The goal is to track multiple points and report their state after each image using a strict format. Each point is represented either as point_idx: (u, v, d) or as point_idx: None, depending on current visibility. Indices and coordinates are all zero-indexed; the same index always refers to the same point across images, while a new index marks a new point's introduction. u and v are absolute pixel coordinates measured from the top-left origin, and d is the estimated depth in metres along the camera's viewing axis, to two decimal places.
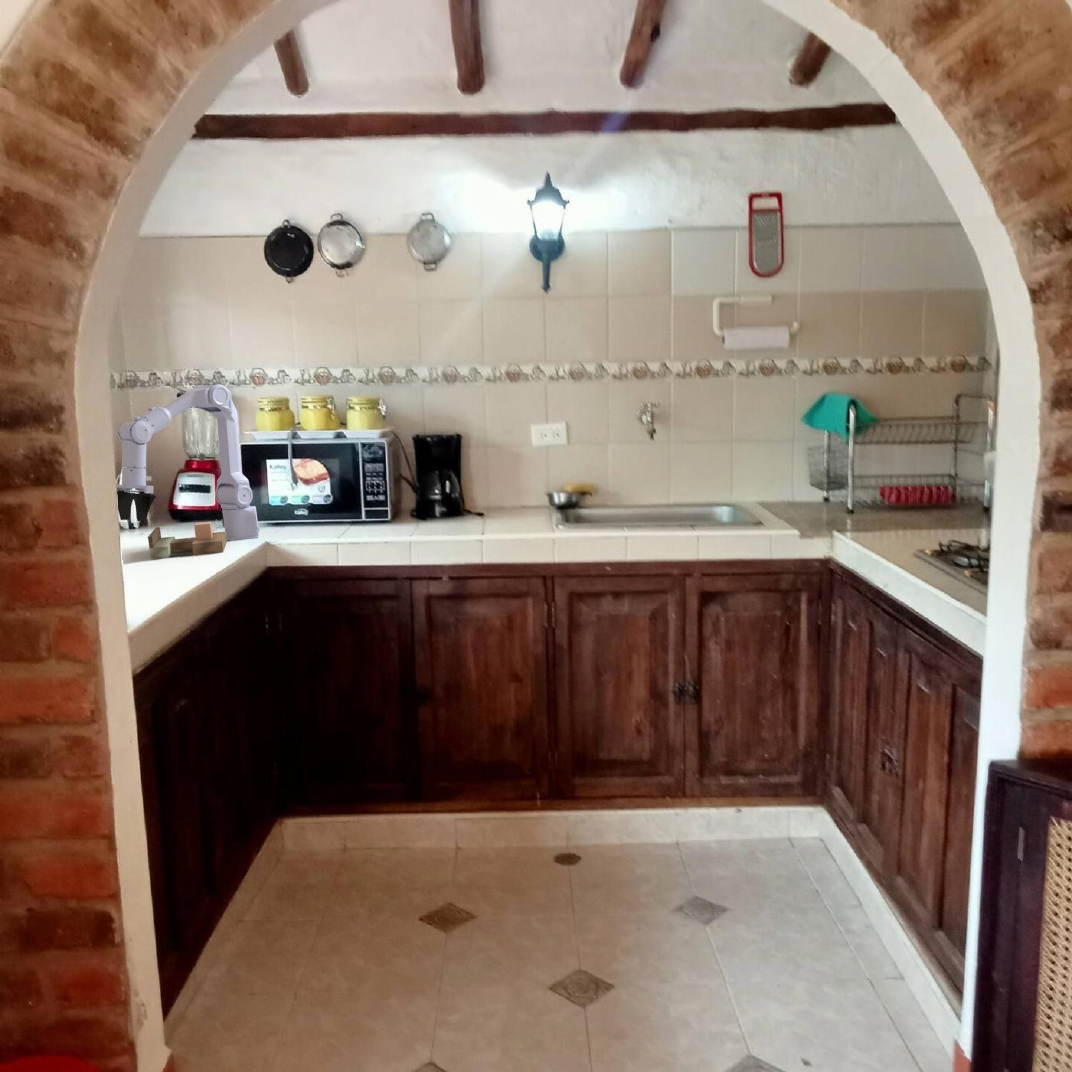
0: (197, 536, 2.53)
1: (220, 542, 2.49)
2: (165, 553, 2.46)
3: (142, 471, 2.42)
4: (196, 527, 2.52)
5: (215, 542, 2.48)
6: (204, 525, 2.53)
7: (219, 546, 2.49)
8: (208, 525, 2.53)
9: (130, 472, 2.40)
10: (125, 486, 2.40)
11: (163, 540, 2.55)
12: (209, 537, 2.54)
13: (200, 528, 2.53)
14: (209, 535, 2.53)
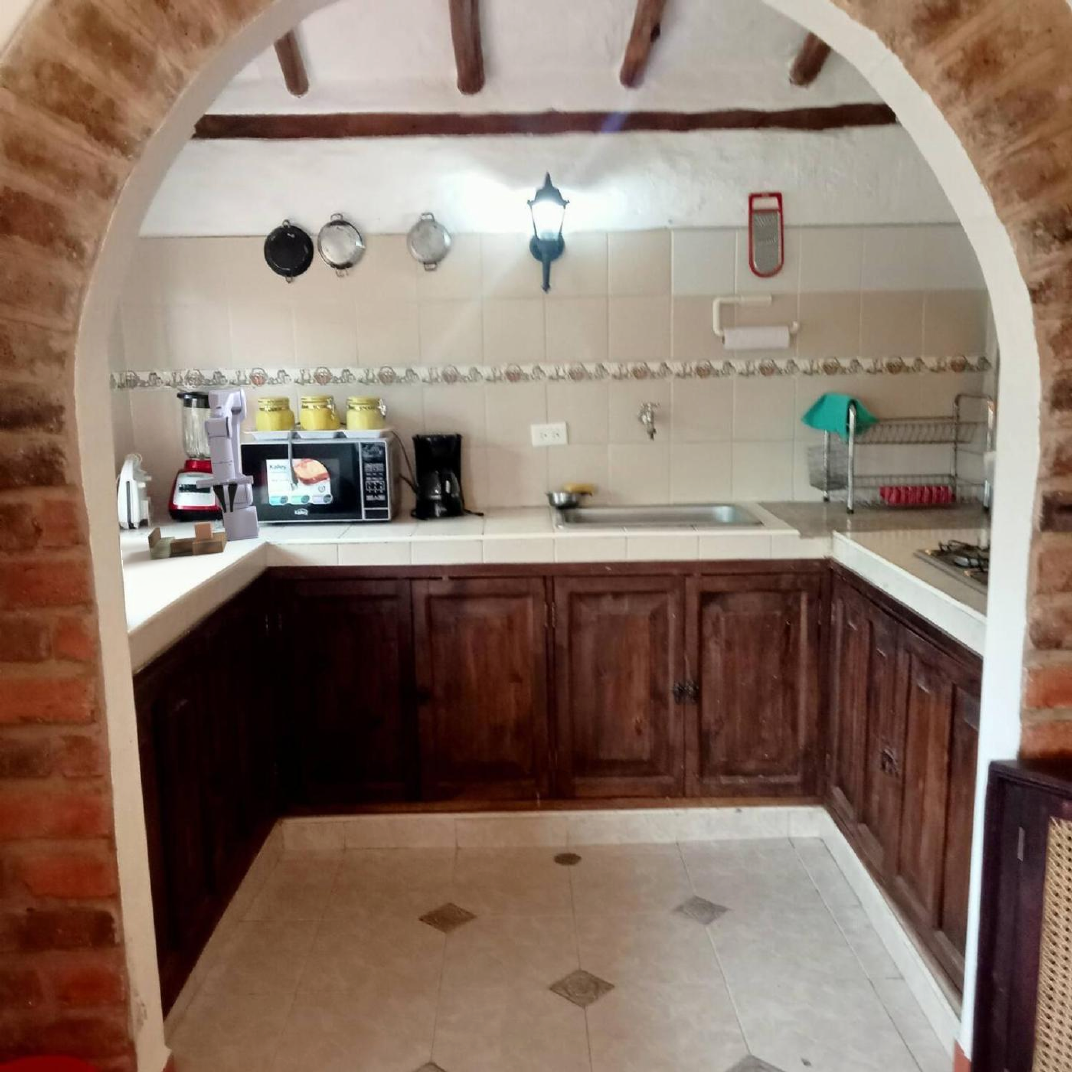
0: (197, 536, 2.53)
1: (220, 542, 2.49)
2: (165, 553, 2.46)
3: None
4: (196, 527, 2.52)
5: (215, 542, 2.48)
6: (204, 525, 2.53)
7: (219, 546, 2.49)
8: (208, 525, 2.53)
9: (229, 466, 2.52)
10: (228, 480, 2.51)
11: (163, 540, 2.55)
12: (209, 537, 2.54)
13: (200, 528, 2.53)
14: (209, 535, 2.53)
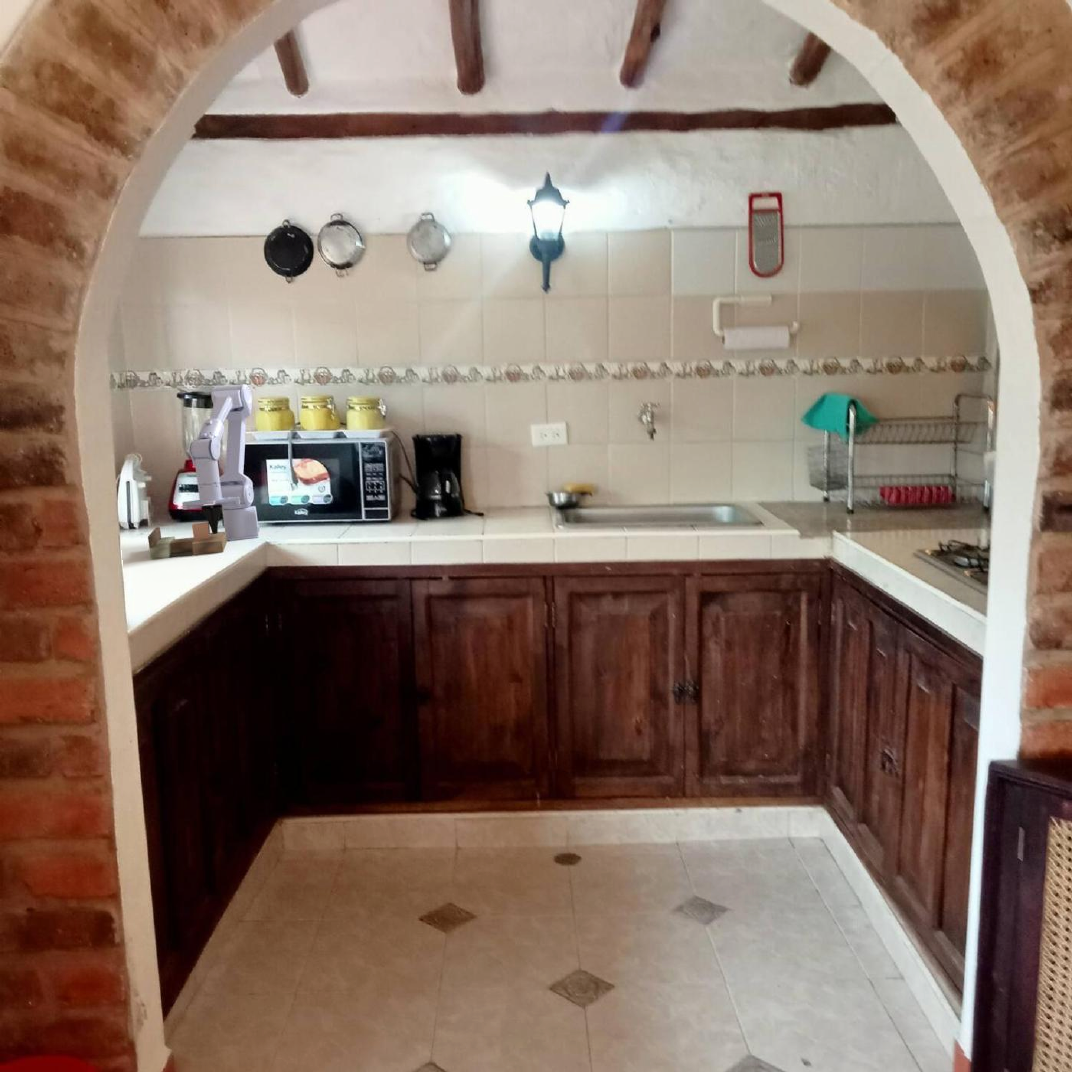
0: (195, 536, 2.53)
1: (220, 542, 2.49)
2: (165, 553, 2.46)
3: None
4: (194, 527, 2.52)
5: (215, 542, 2.48)
6: (202, 525, 2.53)
7: (219, 546, 2.49)
8: (206, 525, 2.53)
9: (216, 488, 2.52)
10: (214, 502, 2.51)
11: (163, 540, 2.55)
12: (207, 537, 2.53)
13: (198, 528, 2.52)
14: (207, 535, 2.53)
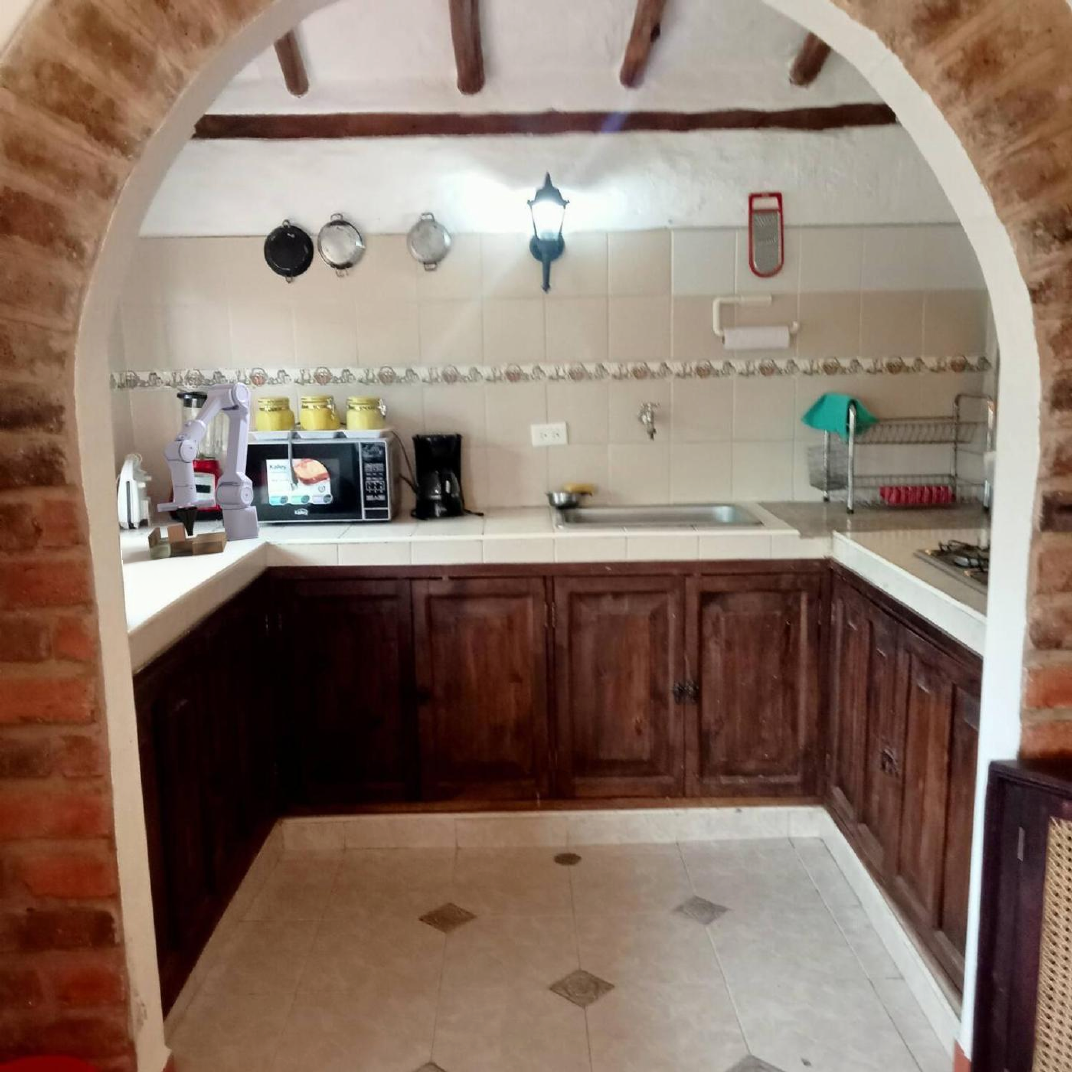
0: (170, 539, 2.51)
1: (220, 542, 2.49)
2: (165, 553, 2.46)
3: (195, 487, 2.53)
4: (169, 530, 2.51)
5: (215, 542, 2.48)
6: (177, 527, 2.51)
7: (219, 546, 2.49)
8: (181, 527, 2.51)
9: (191, 490, 2.50)
10: (189, 504, 2.50)
11: (163, 540, 2.55)
12: (182, 540, 2.52)
13: (173, 531, 2.51)
14: (182, 538, 2.52)
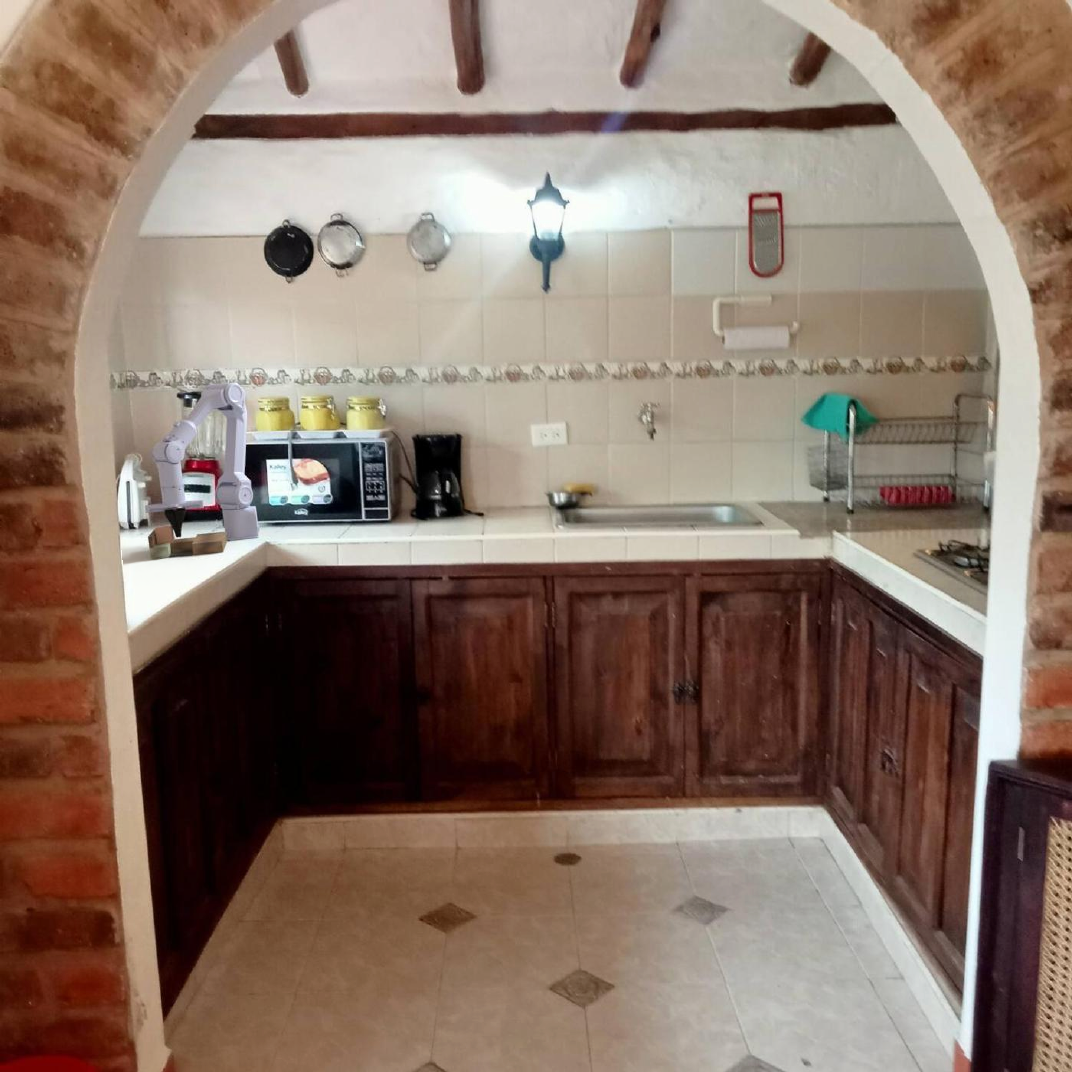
0: (158, 540, 2.50)
1: (220, 542, 2.49)
2: (165, 553, 2.46)
3: (183, 488, 2.52)
4: (157, 531, 2.50)
5: (215, 542, 2.48)
6: (165, 529, 2.50)
7: (219, 546, 2.49)
8: (169, 529, 2.51)
9: (179, 491, 2.50)
10: (177, 505, 2.49)
11: None
12: (170, 541, 2.51)
13: (161, 532, 2.50)
14: (170, 539, 2.51)
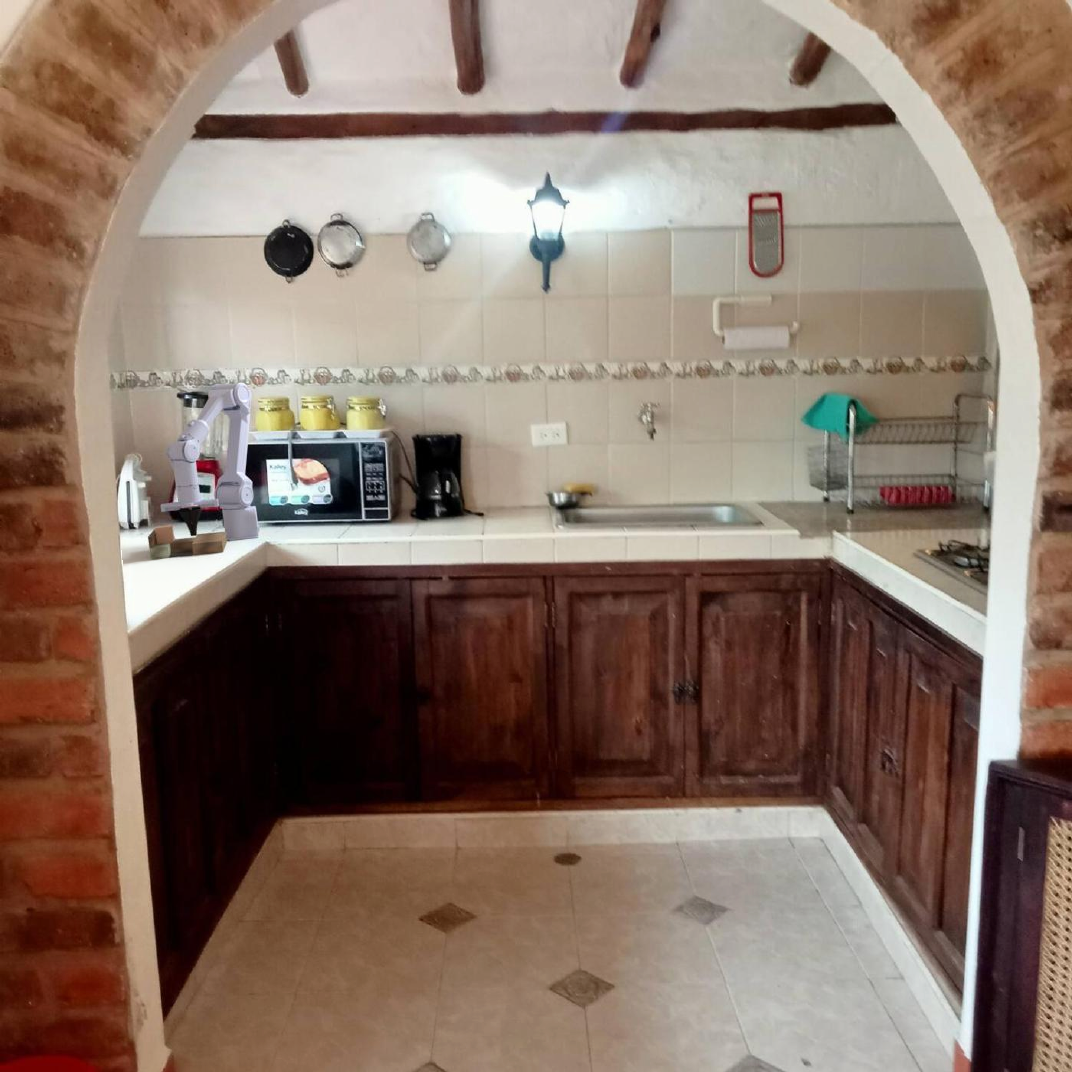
0: (158, 540, 2.50)
1: (220, 542, 2.49)
2: (165, 553, 2.46)
3: None
4: (157, 531, 2.50)
5: (215, 542, 2.48)
6: (165, 529, 2.50)
7: (219, 546, 2.49)
8: (169, 529, 2.51)
9: (194, 490, 2.50)
10: (193, 504, 2.50)
11: None
12: (170, 541, 2.51)
13: (161, 532, 2.50)
14: (170, 539, 2.51)
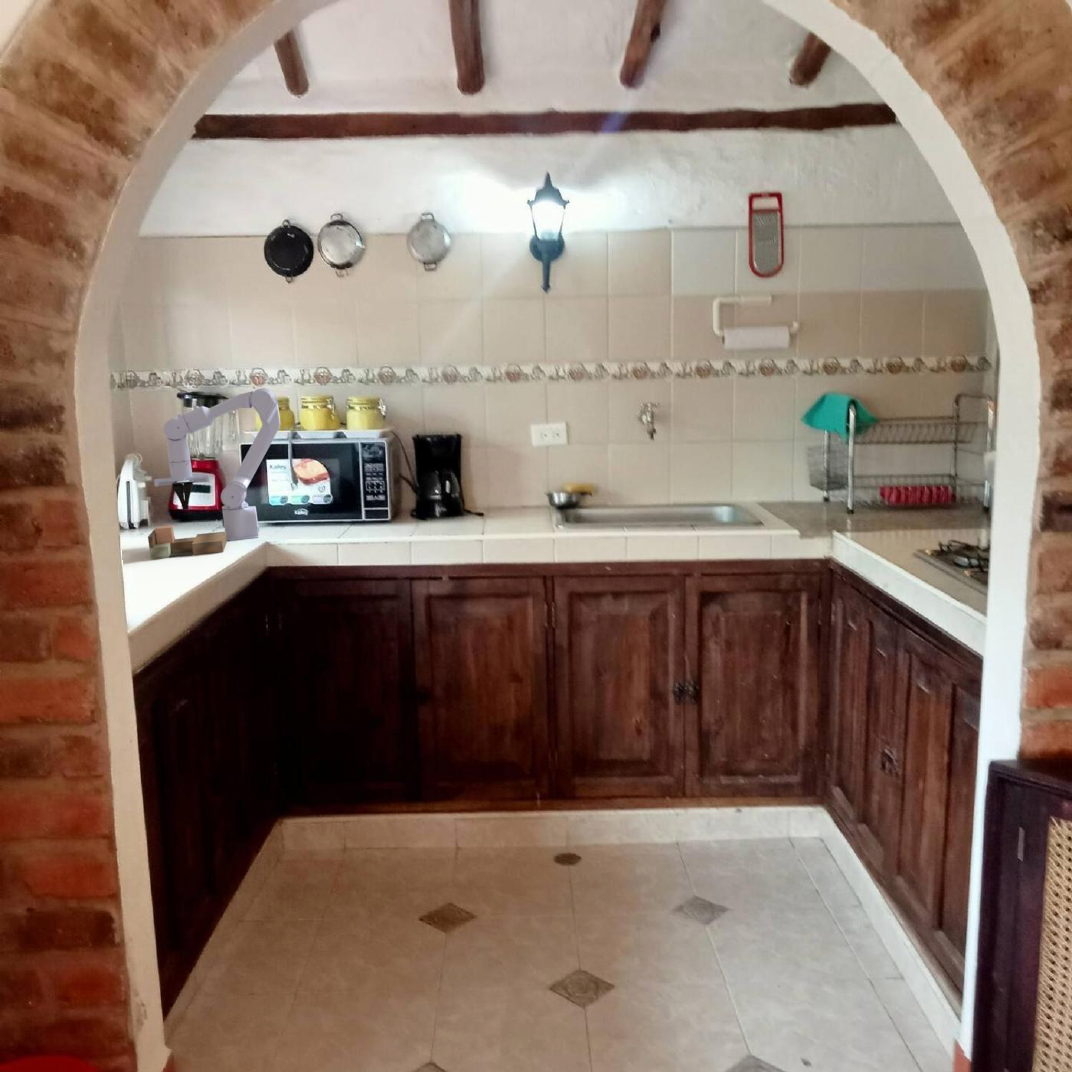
0: (158, 540, 2.50)
1: (220, 542, 2.49)
2: (165, 553, 2.46)
3: None
4: (157, 531, 2.50)
5: (215, 542, 2.48)
6: (165, 529, 2.50)
7: (219, 546, 2.49)
8: (169, 529, 2.51)
9: (186, 465, 2.63)
10: (185, 479, 2.62)
11: None
12: (170, 541, 2.51)
13: (161, 532, 2.50)
14: (170, 539, 2.51)
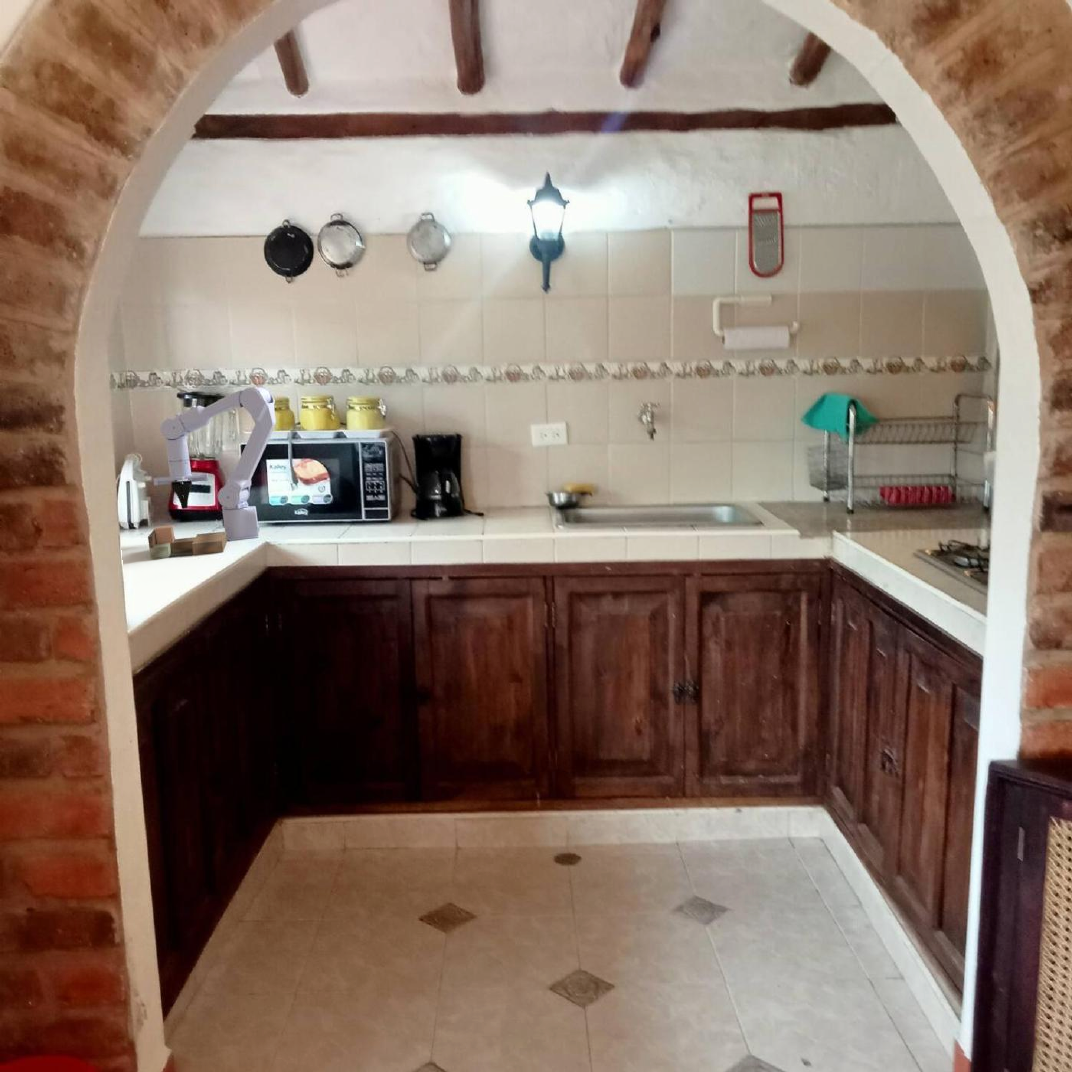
0: (158, 540, 2.50)
1: (220, 542, 2.49)
2: (165, 553, 2.46)
3: (189, 462, 2.69)
4: (157, 531, 2.50)
5: (215, 542, 2.48)
6: (165, 529, 2.50)
7: (219, 546, 2.49)
8: (169, 529, 2.51)
9: (185, 464, 2.66)
10: (184, 478, 2.66)
11: None
12: (170, 541, 2.51)
13: (161, 532, 2.50)
14: (170, 539, 2.51)
